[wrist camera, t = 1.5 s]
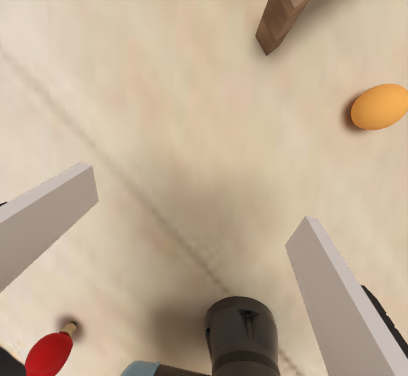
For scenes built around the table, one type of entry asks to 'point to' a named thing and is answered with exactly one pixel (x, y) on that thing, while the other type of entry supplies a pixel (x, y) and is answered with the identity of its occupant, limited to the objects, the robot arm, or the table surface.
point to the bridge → (278, 22)
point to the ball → (380, 107)
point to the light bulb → (50, 353)
